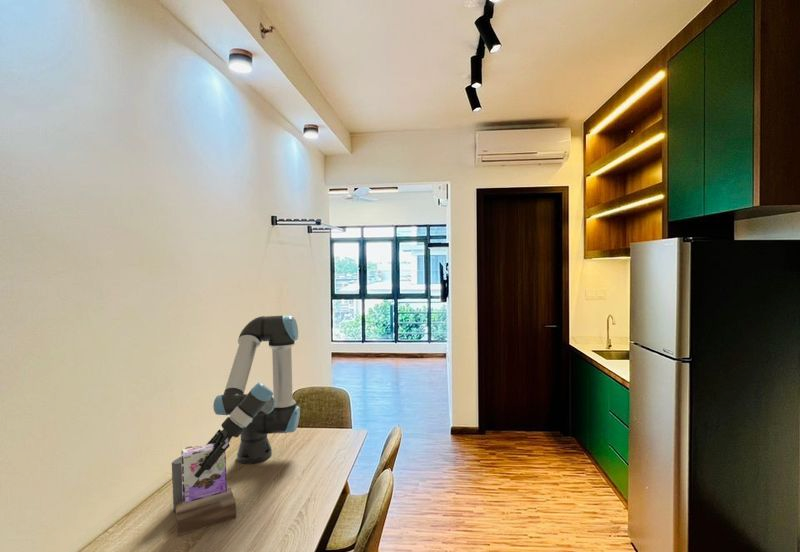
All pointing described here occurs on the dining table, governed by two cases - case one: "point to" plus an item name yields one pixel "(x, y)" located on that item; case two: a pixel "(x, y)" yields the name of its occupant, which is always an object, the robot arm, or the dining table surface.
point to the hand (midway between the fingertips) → (187, 480)
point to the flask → (177, 480)
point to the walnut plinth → (205, 512)
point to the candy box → (209, 480)
